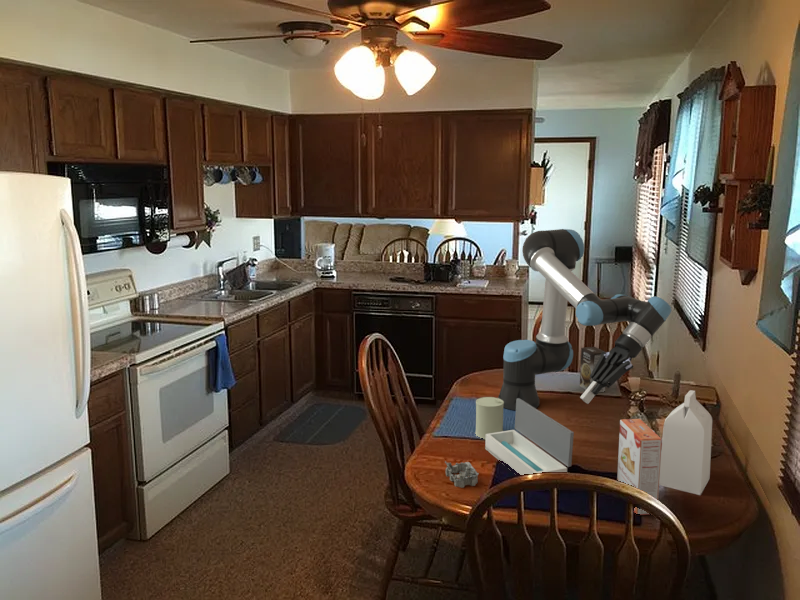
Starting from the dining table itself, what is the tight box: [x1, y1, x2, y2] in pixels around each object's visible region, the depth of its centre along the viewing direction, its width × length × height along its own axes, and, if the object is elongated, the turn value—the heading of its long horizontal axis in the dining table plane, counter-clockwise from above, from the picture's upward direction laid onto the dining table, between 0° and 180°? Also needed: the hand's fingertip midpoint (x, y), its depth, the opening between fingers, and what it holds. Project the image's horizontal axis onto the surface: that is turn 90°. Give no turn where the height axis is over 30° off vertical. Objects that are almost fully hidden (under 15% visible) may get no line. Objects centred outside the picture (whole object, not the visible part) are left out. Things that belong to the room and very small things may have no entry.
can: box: [475, 396, 504, 440], centre depth 227 cm, size 9×9×12 cm
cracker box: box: [616, 418, 662, 516], centre depth 180 cm, size 14×6×21 cm, turn 3°
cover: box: [514, 398, 575, 468], centre depth 205 cm, size 10×30×1 cm
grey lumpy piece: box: [444, 460, 479, 489], centre depth 197 cm, size 11×8×4 cm
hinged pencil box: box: [484, 429, 568, 475], centre depth 204 cm, size 10×30×5 cm, turn 20°
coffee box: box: [579, 346, 608, 393], centre depth 272 cm, size 9×6×16 cm
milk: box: [659, 389, 713, 496], centre depth 192 cm, size 12×12×26 cm
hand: (584, 400), depth 207 cm, fingers closed
